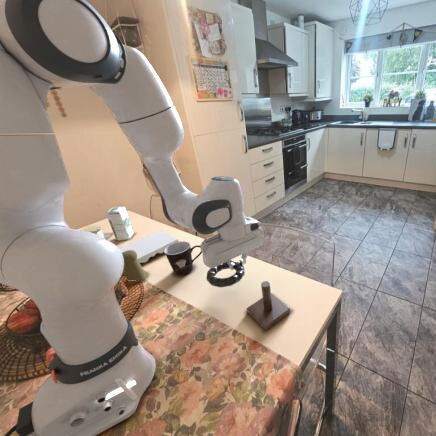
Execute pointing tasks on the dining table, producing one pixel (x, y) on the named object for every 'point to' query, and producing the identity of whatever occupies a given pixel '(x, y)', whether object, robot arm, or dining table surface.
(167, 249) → the coffee mug
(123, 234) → the syrup box
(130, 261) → the olive flared cylinder
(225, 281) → the ring
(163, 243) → the food packaging
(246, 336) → the dining table surface
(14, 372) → the dining table surface
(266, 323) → the peg stand
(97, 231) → the stacked layers on plate
